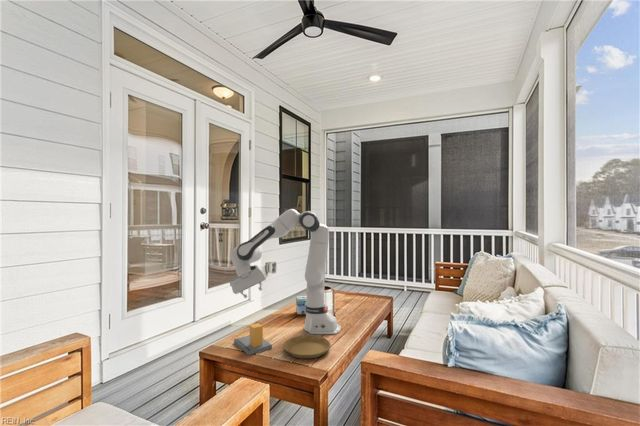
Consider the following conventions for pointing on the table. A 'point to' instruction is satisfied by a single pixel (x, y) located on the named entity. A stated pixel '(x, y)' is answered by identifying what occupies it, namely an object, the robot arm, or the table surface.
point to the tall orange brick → (256, 335)
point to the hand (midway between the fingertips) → (253, 293)
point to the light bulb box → (300, 304)
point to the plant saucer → (307, 346)
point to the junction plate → (247, 348)
